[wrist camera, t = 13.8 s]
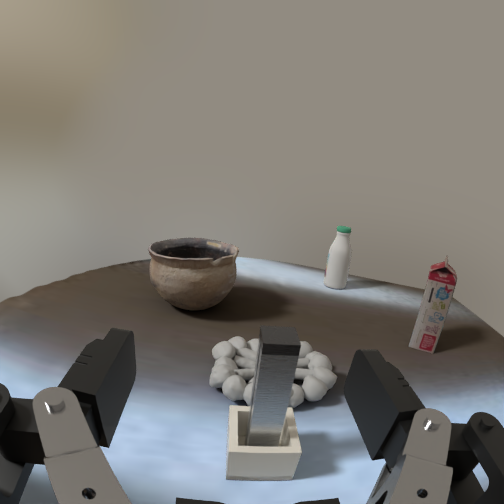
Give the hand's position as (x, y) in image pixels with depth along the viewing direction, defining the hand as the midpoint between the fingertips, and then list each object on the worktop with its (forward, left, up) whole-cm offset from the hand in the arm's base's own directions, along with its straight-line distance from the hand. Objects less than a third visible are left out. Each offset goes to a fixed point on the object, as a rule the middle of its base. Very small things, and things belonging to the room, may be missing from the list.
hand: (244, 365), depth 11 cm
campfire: (-5, +36, -28) cm, 46 cm away
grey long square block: (-2, +18, -26) cm, 32 cm away
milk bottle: (+2, +94, -28) cm, 98 cm away
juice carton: (+27, +61, -28) cm, 72 cm away
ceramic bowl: (-32, +58, -28) cm, 71 cm away
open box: (-2, +18, -27) cm, 33 cm away
